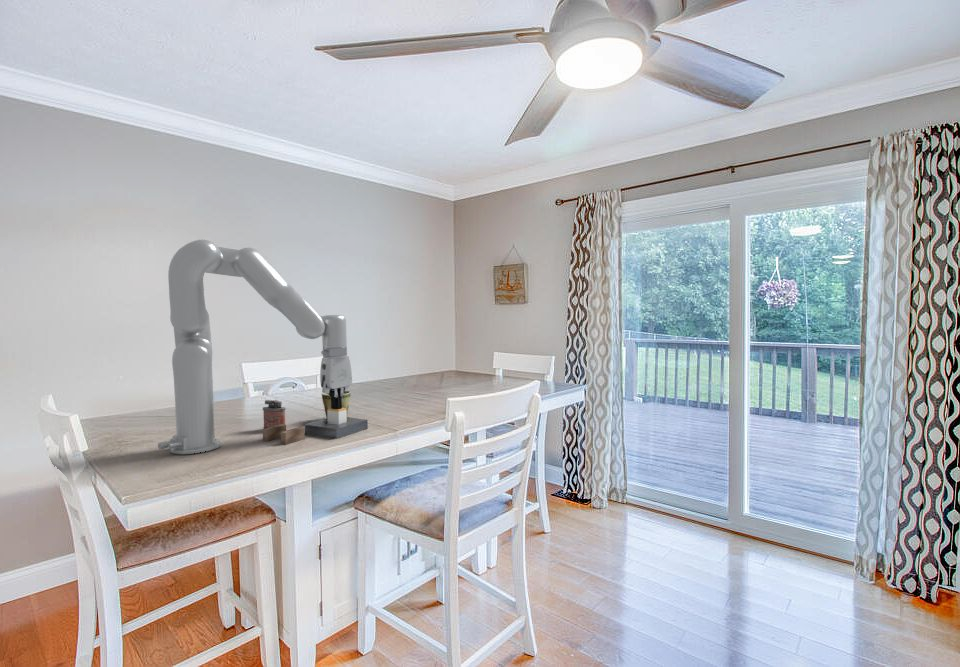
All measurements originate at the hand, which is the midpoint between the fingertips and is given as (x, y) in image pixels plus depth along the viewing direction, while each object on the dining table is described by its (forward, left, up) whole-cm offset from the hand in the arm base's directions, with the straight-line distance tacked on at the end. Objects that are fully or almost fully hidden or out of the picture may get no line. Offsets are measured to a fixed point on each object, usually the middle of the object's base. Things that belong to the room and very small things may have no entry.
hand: (336, 408), depth 157 cm
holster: (-15, +7, -7) cm, 18 cm away
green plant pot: (+13, +12, -8) cm, 19 cm away
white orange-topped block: (0, 0, -7) cm, 7 cm away
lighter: (-8, +20, -8) cm, 23 cm away
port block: (0, 0, -7) cm, 7 cm away
